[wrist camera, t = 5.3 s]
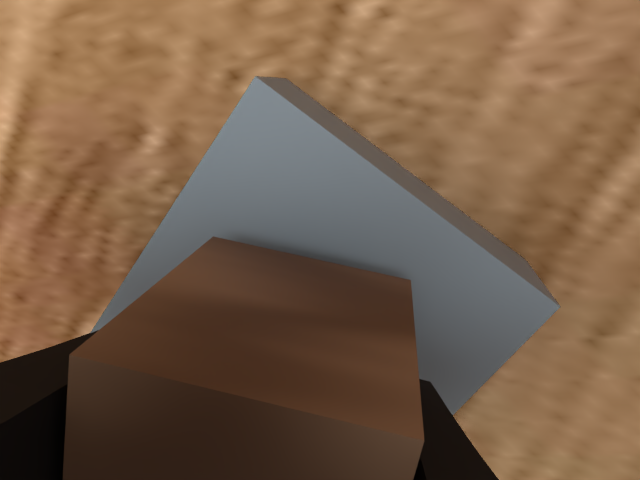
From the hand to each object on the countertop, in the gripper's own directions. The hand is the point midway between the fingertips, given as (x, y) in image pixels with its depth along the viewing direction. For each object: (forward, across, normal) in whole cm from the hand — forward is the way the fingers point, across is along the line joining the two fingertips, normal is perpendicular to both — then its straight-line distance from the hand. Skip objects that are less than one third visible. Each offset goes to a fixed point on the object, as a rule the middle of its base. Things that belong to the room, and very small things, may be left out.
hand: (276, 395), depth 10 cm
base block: (+6, 0, 0) cm, 6 cm away
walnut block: (+2, 0, 0) cm, 2 cm away
